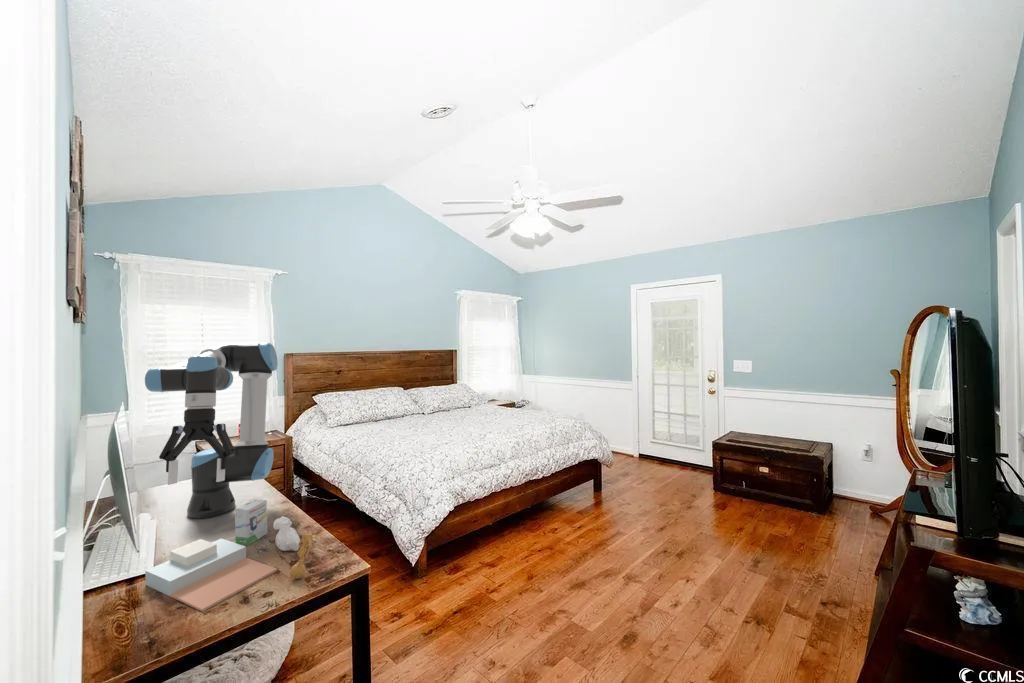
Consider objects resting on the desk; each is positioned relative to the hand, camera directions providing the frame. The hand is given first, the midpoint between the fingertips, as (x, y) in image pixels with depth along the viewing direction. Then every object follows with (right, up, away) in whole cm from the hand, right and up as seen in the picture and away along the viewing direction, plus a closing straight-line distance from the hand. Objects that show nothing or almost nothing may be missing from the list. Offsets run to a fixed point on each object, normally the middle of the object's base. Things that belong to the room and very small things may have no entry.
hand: (196, 482), depth 128 cm
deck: (+2, -25, -2) cm, 25 cm away
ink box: (+6, -24, +18) cm, 31 cm away
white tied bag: (+20, -25, +11) cm, 34 cm away
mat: (+13, -25, -7) cm, 29 cm away
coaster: (0, -21, -1) cm, 21 cm away
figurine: (+33, -25, -5) cm, 41 cm away
